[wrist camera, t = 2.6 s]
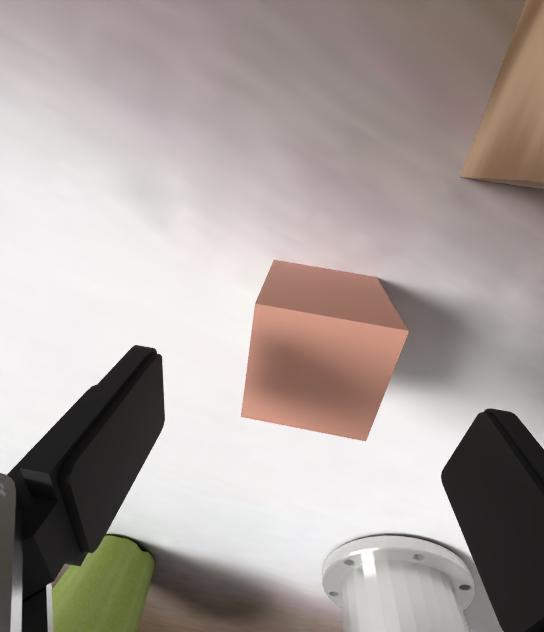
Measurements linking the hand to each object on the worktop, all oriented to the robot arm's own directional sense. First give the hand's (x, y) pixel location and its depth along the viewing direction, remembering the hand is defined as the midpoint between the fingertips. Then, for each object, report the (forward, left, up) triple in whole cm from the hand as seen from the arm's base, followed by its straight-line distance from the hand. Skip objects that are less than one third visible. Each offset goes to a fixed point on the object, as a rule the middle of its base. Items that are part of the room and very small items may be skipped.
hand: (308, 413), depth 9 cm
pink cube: (-1, 0, -9) cm, 9 cm away
